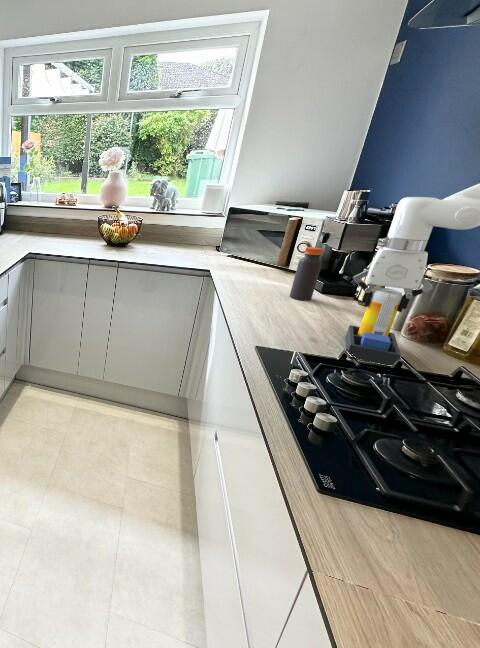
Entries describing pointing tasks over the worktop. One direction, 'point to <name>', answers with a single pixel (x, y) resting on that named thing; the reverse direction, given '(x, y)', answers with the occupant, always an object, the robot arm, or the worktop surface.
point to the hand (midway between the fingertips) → (382, 307)
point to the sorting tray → (371, 353)
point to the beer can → (380, 312)
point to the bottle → (307, 274)
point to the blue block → (375, 341)
